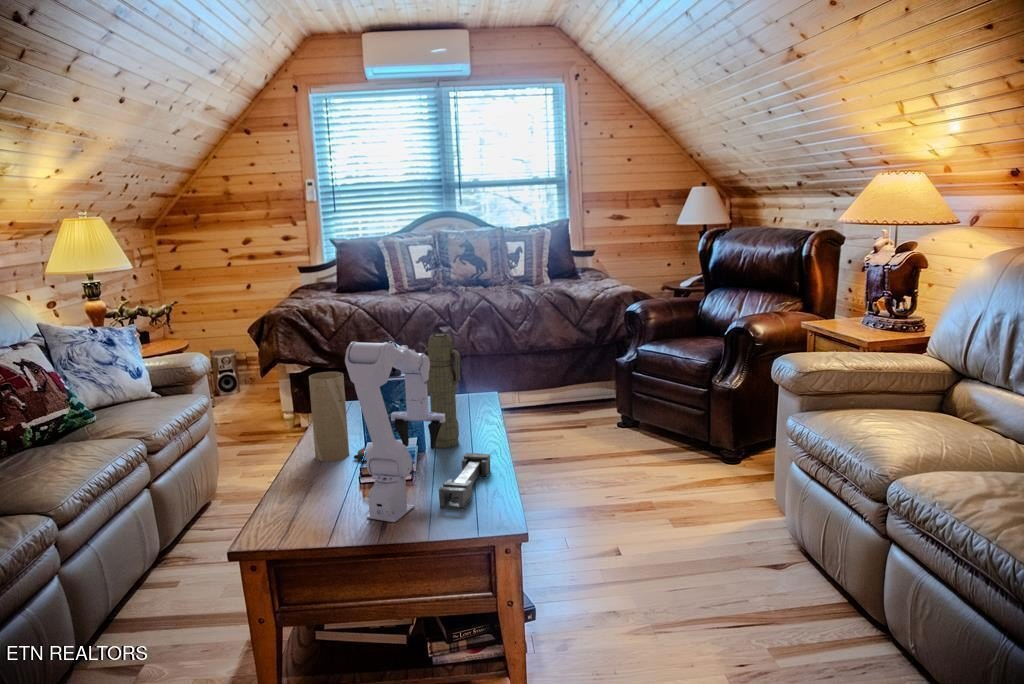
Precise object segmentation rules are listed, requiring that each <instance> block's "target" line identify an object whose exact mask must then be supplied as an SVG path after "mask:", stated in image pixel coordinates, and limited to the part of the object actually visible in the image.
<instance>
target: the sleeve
mask: <svg viewBox="0 0 1024 684" xmlns="http://www.w3.org/2000/svg"><path fill="white" fill-rule="evenodd" d="M452 487H460V488H452ZM452 492H454V493H458V494H459V497H452ZM473 494H474V493H473V484H472V481H469V480H467V482H466V483H454V479H450V478H449V479H448V480H447V481H444V482H443V484H442V486H440V487H439V488H438V499H439V509H445V510H446V509H447V510H457V509H464V510H465V509H466V508H465V507H467V506H468V505H469V503H470V502H469V501H471V500H472V499H471V497H472V496H473ZM472 498H473V497H472ZM470 499H471V500H470ZM468 502H469V503H468ZM467 504H468V505H467ZM466 505H467V506H466Z"/></svg>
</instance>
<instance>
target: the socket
mask: <svg viewBox="0 0 1024 684" xmlns="http://www.w3.org/2000/svg"><path fill="white" fill-rule="evenodd" d="M471 460H482V462H481V463H482V471H481V473H480V474H479V476H478V477H488V476H489V475H488V474H490V473H491V454H490V453H474V452H466V453H465V454H464V455H463V459H462V460H461V472H462V471H463V470H464V468H465V467H466V466H467V464H468V463H469V462H470V461H471ZM489 472H490V473H489ZM487 475H488V476H487Z"/></svg>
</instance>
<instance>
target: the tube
mask: <svg viewBox="0 0 1024 684" xmlns="http://www.w3.org/2000/svg"><path fill="white" fill-rule="evenodd" d="M344 379H345V377H344V373H343V372H339V371H322V372H316V373H312V374H310V375H309V376H308V385H309V396H310V397H309V398H310V408H311V409H310V410H311V419H312V420H311V421H312V431H313V445H314V455H315V460H317V461H319V460H320V462H324V461H326V462H327V461H331V462H337V460H338V461H341V459H342V460H344V459H346V458H348V457H349V456H348V455H350V446H349V445H350V443H349V433H348V431H349V430H348V418H347V405H346V403H347V402H346V391H345V380H344ZM326 462H325V463H326Z"/></svg>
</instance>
